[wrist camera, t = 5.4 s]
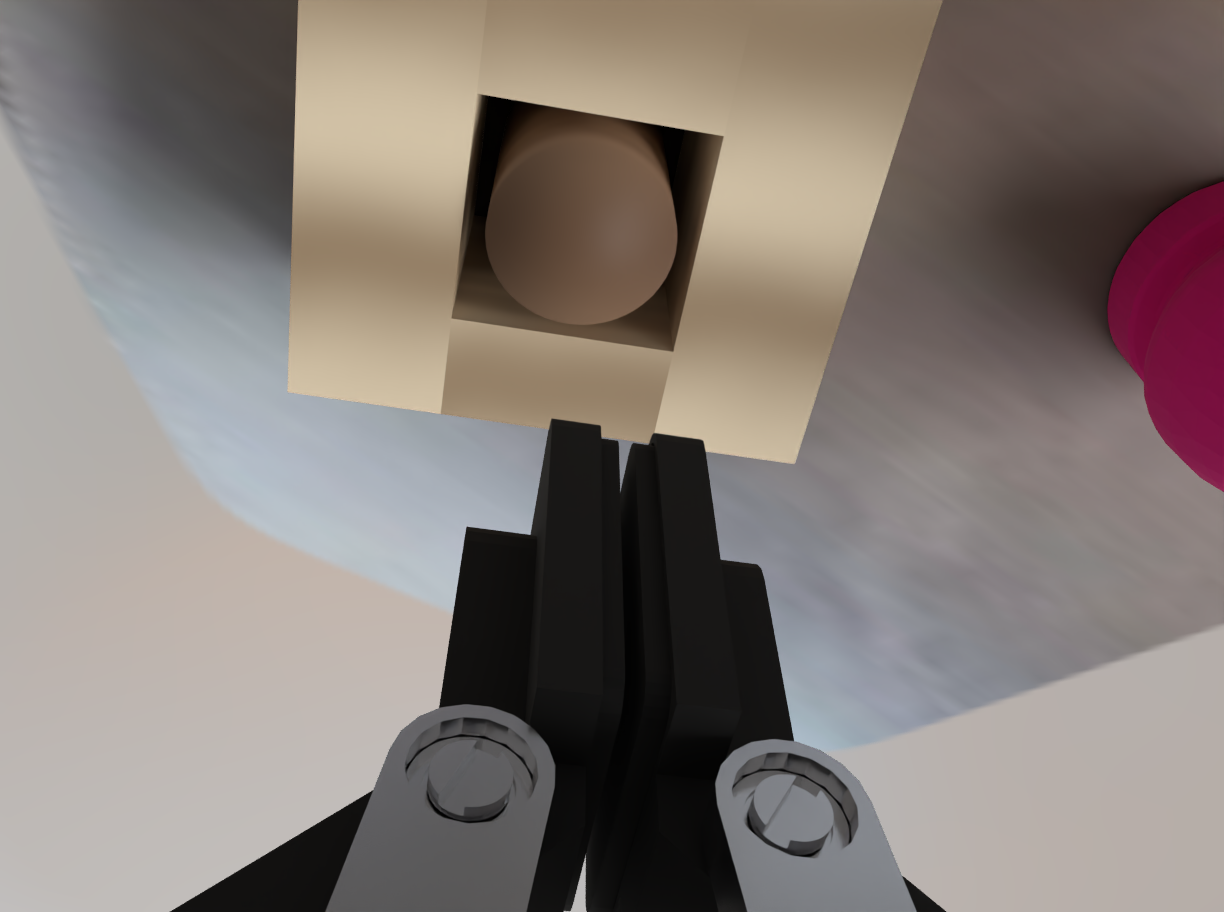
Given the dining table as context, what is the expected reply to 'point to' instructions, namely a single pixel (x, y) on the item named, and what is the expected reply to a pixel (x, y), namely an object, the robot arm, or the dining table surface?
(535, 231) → the walnut peg
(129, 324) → the dining table surface
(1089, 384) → the dining table surface
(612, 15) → the oak socket block
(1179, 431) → the pepper mill
